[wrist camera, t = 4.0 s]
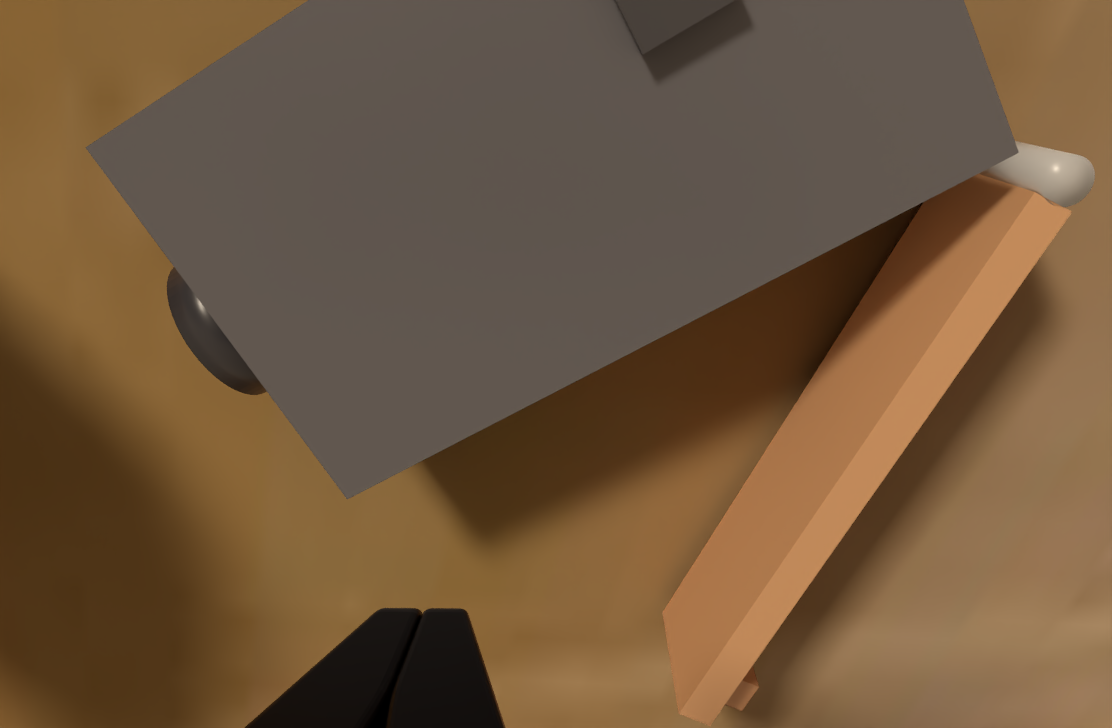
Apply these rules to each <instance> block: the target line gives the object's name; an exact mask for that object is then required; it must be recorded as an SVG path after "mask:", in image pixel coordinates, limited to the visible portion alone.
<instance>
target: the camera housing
mask: <svg viewBox="0 0 1112 728" xmlns="http://www.w3.org/2000/svg"><path fill="white" fill-rule="evenodd" d="M86 149H87V150H88V151H89V153H90V154H91V156H92V157H93V158H94V160H95V161H96V162H97V164H98V165H99V166H100V168H101V169H102V170H103V172H104V173H105V174H106V176H107V177H108V178H109V180H110V181H111V182H112V184H113V185H114V186H115V188H116V189H117V190H118V192H119V193H120V194H121V196H122V197H123V199H124V200H125V201H126V203H127V204H128V205H129V207H130V208H131V209H132V211H133V212H134V213H135V215H136V216H137V217H138V219H139V220H140V221H141V223H142V224H143V225H144V227H145V228H146V229H147V231H148V232H149V233H150V235H151V236H152V238H153V239H154V240H155V242H156V243H157V244H158V246H159V247H160V248H161V250H162V251H163V252H164V254H165V255H166V256H167V258H168V259H169V260H170V262H171V263H172V264H173V266H174V268H173V269H172V270H171V272H170V274H169V276H168V281H167V296H168V302H169V306H170V310H171V313H172V316H173V318H174V321H175V323H176V325H177V328H178V329H179V331H180V333H181V335H182V337H183V339H184V340H185V342H186V344H187V345H188V347H189V348H190V349H191V351H192V352H193V354H194V355H195V356H196V357H197V358H198V360H199V361H200V362H201V363H202V364H203V365H204V366H205V367H206V368H207V370H208V371H210V372H211V373H212V374H213V375H214V376H215V377H216V378H218V379H219V380H220V381H221V382H223V383H224V384H226V385H227V386H229V387H231V388H233V389H235V390H237V391H239V392H242V393H245V394H250V395H258V394H262V393H264V392H266V391H267V392H268V393H269V395H270V396H271V397H272V399H273V400H274V401H275V403H276V404H277V405H278V407H279V408H280V410H281V411H282V412H283V414H284V415H285V416H286V418H287V419H288V420H289V422H290V423H291V424H292V426H293V427H294V428H295V430H296V431H297V432H298V434H299V435H300V436H301V438H302V439H303V440H304V442H305V443H306V444H307V446H308V447H309V448H310V450H311V451H312V453H313V454H314V455H315V457H316V458H317V459H318V461H319V462H320V463H321V465H322V466H323V467H324V469H325V470H326V471H327V473H328V474H329V475H330V477H331V478H332V479H333V481H334V482H335V483H336V485H337V486H338V487H339V489H340V490H341V492H342V493H343V494H344V496H345V497H346V498H347V499H349V498H351V497H353V496H355V495H357V494H358V493H360V492H362V491H364V490H366V489H368V488H370V487H372V486H374V485H376V484H378V483H380V482H382V481H384V480H386V479H388V478H389V477H391V476H393V475H395V474H397V473H399V472H401V471H403V470H405V469H407V468H409V467H411V466H413V465H415V464H417V463H419V462H420V461H422V460H424V459H426V458H428V457H430V456H432V455H434V454H436V453H438V452H440V451H442V450H444V449H446V448H448V447H450V446H452V445H453V444H455V443H457V442H459V441H461V440H463V439H465V438H467V437H469V436H471V435H473V434H475V433H477V432H479V431H481V430H483V429H484V428H486V427H488V426H490V425H492V424H494V423H496V422H498V421H500V420H502V419H504V418H506V417H508V416H510V415H512V414H514V413H515V412H517V411H519V410H521V409H523V408H525V407H527V406H529V405H531V404H533V403H535V402H537V401H539V400H541V399H543V398H545V397H546V396H548V395H550V394H552V393H554V392H556V391H558V390H560V389H562V388H564V387H566V386H568V385H570V384H572V383H574V382H576V381H578V380H579V379H581V378H583V377H585V376H587V375H589V374H591V373H593V372H595V371H597V370H599V369H601V368H603V367H605V366H607V365H609V364H610V363H612V362H614V361H616V360H618V359H620V358H622V357H624V356H626V355H628V354H630V353H632V352H634V351H636V350H638V349H640V348H641V347H643V346H645V345H647V344H649V343H651V342H653V341H655V340H657V339H659V338H661V337H663V336H665V335H667V334H669V333H671V332H672V331H674V330H676V329H678V328H680V327H682V326H684V325H686V324H688V323H690V322H692V321H694V320H696V319H698V318H700V317H702V316H703V315H705V314H707V313H709V312H711V311H713V310H715V309H717V308H719V307H721V306H723V305H725V304H727V303H729V302H731V301H733V300H735V299H736V298H738V297H740V296H742V295H744V294H746V293H748V292H750V291H752V290H754V289H756V288H758V287H760V286H762V285H764V284H766V283H767V282H769V281H771V280H773V279H775V278H777V277H779V276H781V275H783V274H785V273H787V272H789V271H791V270H793V269H795V268H797V267H798V266H800V265H802V264H804V263H806V262H808V261H810V260H812V259H814V258H816V257H818V256H820V255H822V254H824V253H826V252H828V251H829V250H831V249H833V248H835V247H837V246H839V245H841V244H843V243H845V242H847V241H849V240H851V239H853V238H855V237H857V236H859V235H860V234H862V233H864V232H866V231H868V230H870V229H872V228H874V227H876V226H878V225H880V224H882V223H884V222H886V221H888V220H890V219H892V218H893V217H895V216H897V215H899V214H901V213H903V212H905V211H907V210H909V209H911V208H913V207H915V206H917V205H919V204H921V203H923V202H924V201H926V200H928V199H930V198H932V197H934V196H936V195H938V194H940V193H942V192H944V191H946V190H948V189H950V188H952V187H954V186H955V185H957V184H959V183H961V182H963V181H965V180H967V179H969V178H971V177H973V176H975V175H977V174H979V173H981V172H983V171H985V170H986V169H988V168H990V167H992V166H994V165H996V164H998V163H1000V162H1002V161H1004V160H1006V159H1008V158H1010V157H1012V156H1014V155H1016V154H1017V153H1019V152H1018V149H1017V146H1016V143H1015V141H1014V138H1013V135H1012V132H1011V129H1010V127H1009V124H1008V121H1007V118H1006V116H1005V113H1004V110H1003V107H1002V105H1001V102H1000V99H999V96H998V94H997V91H996V88H995V85H994V83H993V80H992V77H991V74H990V72H989V69H988V66H987V63H986V61H985V58H984V55H983V52H982V50H981V47H980V44H979V41H978V39H977V36H976V33H975V30H974V28H973V25H972V22H971V19H970V17H969V14H968V11H967V8H966V6H965V3H964V0H308V1H307V2H305V3H304V4H302V5H300V6H299V7H297V8H296V9H294V10H293V11H291V12H290V13H288V14H287V15H285V16H284V17H282V18H281V19H279V20H278V21H276V22H275V23H273V24H272V25H270V26H269V27H267V28H266V29H264V30H263V31H261V32H260V33H258V34H257V35H255V36H254V37H252V38H251V39H249V40H248V41H246V42H245V43H243V44H241V45H240V46H238V47H237V48H235V49H234V50H232V51H231V52H229V53H228V54H226V55H225V56H223V57H222V58H220V59H219V60H217V61H216V62H214V63H213V64H211V65H210V66H208V67H207V68H205V69H204V70H202V71H201V72H199V73H198V74H196V75H195V76H193V77H192V78H190V79H189V80H187V81H186V82H184V83H183V84H181V85H179V86H178V87H176V88H175V89H173V90H172V91H170V92H169V93H167V94H166V95H164V96H163V97H161V98H160V99H158V100H157V101H155V102H154V103H152V104H151V105H149V106H148V107H146V108H145V109H143V110H142V111H140V112H139V113H137V114H136V115H134V116H133V117H131V118H130V119H128V120H127V121H125V122H124V123H122V124H121V125H119V126H117V127H116V128H114V129H113V130H111V131H110V132H108V133H107V134H105V135H104V136H102V137H101V138H99V139H98V140H96V141H95V142H93V143H92V144H90V145H89V146H87V147H86Z"/></svg>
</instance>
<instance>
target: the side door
mask: <svg viewBox="0 0 1112 728" xmlns="http://www.w3.org/2000/svg"><path fill="white" fill-rule="evenodd" d="M1015 143H1016V146H1017V149H1018V152H1019V153H1017V154H1016V155H1014V156H1012V157H1010V158H1008V159H1006V160H1004V161H1002V162H1000V163H998V164H996V165H994V166H992V167H990V168H988V169H986V170H985V171H983V172H981V173H979V174H977V175H975V176H973V177H971V178H969V179H967V180H965V181H963V182H961V183H959V184H957V185H955V186H954V187H952V188H950V189H948V190H946V191H944V192H942V193H940V194H938V195H936V196H934V197H932V198H930V199H928V200H926V201H924V202H923V204H922V206H921V207H920V209H919V210H918V212H917V213H916V215H915V217H914V218H913V220H912V221H911V223H910V224H909V226H908V228H907V229H906V231H905V232H904V234H903V235H902V237H901V239H900V240H899V242H898V243H897V245H896V246H895V248H894V250H893V251H892V253H891V254H890V256H889V257H888V259H887V261H886V262H885V264H884V265H883V267H882V268H881V270H880V272H879V273H878V275H877V276H876V278H875V279H874V281H873V283H872V284H871V286H870V287H869V289H868V290H867V292H866V294H865V295H864V297H863V298H862V300H861V301H860V303H859V305H858V306H857V308H856V309H855V311H854V312H853V314H852V316H851V317H850V319H849V320H848V322H847V323H846V325H845V327H844V328H843V330H842V331H841V333H840V334H839V336H838V338H837V339H836V341H835V342H834V344H833V345H832V347H831V349H830V350H829V352H828V353H827V355H826V356H825V358H824V360H823V361H822V363H821V364H820V366H819V367H818V369H817V371H816V372H815V374H814V375H813V377H812V378H811V380H810V382H809V383H808V385H807V386H806V388H805V389H804V391H803V393H802V394H801V396H800V397H799V399H798V400H797V402H796V404H795V405H794V407H793V408H792V410H791V411H790V413H789V415H788V416H787V418H786V419H785V421H784V422H783V424H782V426H781V427H780V429H779V430H778V432H777V433H776V435H775V437H774V438H773V440H772V441H771V443H770V444H769V446H768V448H767V449H766V451H765V452H764V454H763V455H762V457H761V459H760V460H759V462H758V463H757V465H756V466H755V468H754V470H753V471H752V473H751V474H750V476H749V477H748V479H747V481H746V482H745V484H744V485H743V487H742V488H741V490H740V492H739V493H738V495H737V496H736V498H735V499H734V501H733V503H732V504H731V506H730V507H729V509H728V510H727V512H726V514H725V515H724V517H723V518H722V520H721V521H720V523H719V525H718V526H717V528H716V529H715V531H714V532H713V534H712V536H711V537H710V539H709V540H708V542H707V543H706V545H705V547H704V548H703V550H702V551H701V553H700V554H699V556H698V558H697V559H696V561H695V562H694V564H693V565H692V567H691V569H690V570H689V572H688V573H687V575H686V576H685V578H684V580H683V581H682V583H681V584H680V586H679V587H678V589H677V591H676V592H675V594H674V595H673V597H672V598H671V600H670V602H669V603H668V605H667V606H666V608H665V609H664V611H663V618H664V624H665V631H666V637H667V643H668V649H669V655H670V662H671V668H672V674H673V680H674V686H675V693H676V699H677V705H678V711H679V714H681V715H683V716H686V717H688V718H691V719H694V720H696V721H699V722H701V723H704V724H706V725H709V726H710V725H711V724H712V722H713V721H714V719H715V718H716V717H717V715H718V714H719V712H720V711H721V709H722V708H723V707H724V705H728V706H730V707H733V708H735V709H738V710H740V711H742V710H743V709H744V707H745V706H746V705H747V703H748V702H749V700H750V699H751V698H752V696H753V695H754V693H755V692H756V691H757V689H758V688H759V686H758V682H757V679H756V675H755V672H754V669H753V664H754V663H755V661H756V660H757V658H758V657H759V656H760V654H761V653H762V651H763V650H764V648H765V647H766V646H767V644H768V643H769V641H770V640H771V639H772V637H773V636H774V634H775V633H776V631H777V630H778V629H779V627H780V626H781V624H782V623H783V621H784V620H785V619H786V617H787V616H788V614H789V613H790V612H791V610H792V609H793V607H794V606H795V604H796V603H797V602H798V600H799V599H800V597H801V596H802V595H803V593H804V592H805V590H806V589H807V587H808V586H809V585H810V583H811V582H812V580H813V579H814V577H815V576H816V575H817V573H818V572H819V570H820V569H821V568H822V566H823V565H824V563H825V562H826V560H827V559H828V558H829V556H830V555H831V553H832V552H833V551H834V549H835V548H836V546H837V545H838V543H839V542H840V541H841V539H842V538H843V536H844V535H845V533H846V532H847V531H848V529H849V528H850V526H851V525H852V524H853V522H854V521H855V519H856V518H857V516H858V515H859V514H860V512H861V511H862V509H863V508H864V507H865V505H866V504H867V502H868V501H869V499H870V498H871V497H872V495H873V494H874V492H875V491H876V489H877V488H878V487H879V485H880V484H881V482H882V481H883V480H884V478H885V477H886V475H887V474H888V472H889V471H890V470H891V468H892V467H893V465H894V464H895V463H896V461H897V460H898V458H899V457H900V455H901V454H902V453H903V451H904V450H905V448H906V447H907V445H908V444H909V443H910V441H911V440H912V438H913V437H914V436H915V434H916V433H917V431H918V430H919V428H920V427H921V426H922V424H923V423H924V421H925V420H926V419H927V417H928V416H929V414H930V413H931V411H932V410H933V409H934V407H935V406H936V404H937V403H938V401H939V400H940V399H941V397H942V396H943V394H944V393H945V392H946V390H947V389H948V387H949V386H950V384H951V383H952V382H953V380H954V379H955V377H956V376H957V374H958V373H959V372H960V370H961V369H962V367H963V366H964V365H965V363H966V362H967V360H968V359H969V357H970V356H971V355H972V353H973V352H974V350H975V349H976V348H977V346H978V345H979V343H980V342H981V340H982V339H983V338H984V336H985V335H986V333H987V332H988V330H989V329H990V328H991V326H992V325H993V323H994V322H995V321H996V319H997V318H998V316H999V315H1000V313H1001V312H1002V311H1003V309H1004V308H1005V306H1006V305H1007V304H1008V302H1009V301H1010V299H1011V298H1012V296H1013V295H1014V294H1015V292H1016V291H1017V289H1018V288H1019V286H1020V285H1021V284H1022V282H1023V281H1024V279H1025V278H1026V277H1027V275H1028V274H1029V272H1030V271H1031V269H1032V268H1033V267H1034V265H1035V264H1036V262H1037V261H1038V260H1039V258H1040V257H1041V255H1042V254H1043V252H1044V251H1045V250H1046V248H1047V247H1048V245H1049V244H1050V242H1051V241H1052V240H1053V238H1054V237H1055V235H1056V234H1057V233H1058V231H1059V230H1060V228H1061V227H1062V225H1063V224H1064V223H1065V221H1066V220H1067V218H1068V217H1069V216H1070V214H1071V213H1072V212H1071V211H1070V210H1068V209H1066V208H1064V207H1068V206H1072V205H1074V204H1076V203H1078V202H1080V201H1081V200H1082V199H1084V198H1085V197H1086V196H1087V194H1088V193H1089V192H1090V190H1091V188H1092V186H1093V183H1094V178H1095V172H1094V168H1093V166H1092V164H1091V163H1090V161H1089V160H1088V159H1086V158H1085V157H1083V156H1080V155H1075V154H1071V153H1066V152H1062V151H1058V150H1053V149H1049V148H1044V147H1040V146H1035V145H1031V144H1026V143H1022V142H1017V141H1015Z"/></svg>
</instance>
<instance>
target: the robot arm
mask: <svg viewBox="0 0 1112 728" xmlns="http://www.w3.org/2000/svg"><path fill="white" fill-rule="evenodd" d="M245 728H505V725H504V722H503V719H502V716H501V713H500V710H499V707H498V704H497V701H496V698H495V695H494V691H493V688H492V685H491V682H490V679H489V676H488V673H487V670H486V667H485V664H484V661H483V658H482V655H481V652H480V649H479V646H478V643H477V640H476V637H475V633H474V630H473V627H472V624H471V621H470V618H469V615H468V613H467V612H466V611H465V610H464V609H453V608H431V609H428V610H426V611H424V613H423V614H422V612H421V611H420V610H419V609H416V608H383V609H380V610H378V611H376V612H375V613H374V614H372V615H371V616H370V617H369V618H368V619H367V620H366V621H365V622H363V623H362V624H361V625H360V626H359V627H358V628H357V629H355V630H354V631H353V632H352V633H351V634H350V635H349V636H348V637H346V638H345V639H344V640H343V641H342V642H341V643H340V644H339V645H337V646H336V647H335V648H334V649H333V650H332V651H331V652H330V653H328V654H327V655H326V656H325V657H324V658H323V659H322V660H320V661H319V662H318V663H317V664H316V665H315V666H314V667H313V668H311V669H310V670H309V671H308V672H307V673H306V674H305V675H304V676H302V677H301V678H300V679H299V680H298V681H297V682H296V683H295V684H293V685H292V686H291V687H290V688H289V689H288V690H287V691H285V692H284V693H283V694H282V695H281V696H280V697H279V698H278V699H276V700H275V701H274V702H273V703H272V704H271V705H270V706H269V707H267V708H266V709H265V710H264V711H263V712H262V713H261V714H259V715H258V716H257V717H256V718H255V719H254V720H253V721H252V722H250V723H249V724H248V725H247V726H246V727H245Z"/></svg>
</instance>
